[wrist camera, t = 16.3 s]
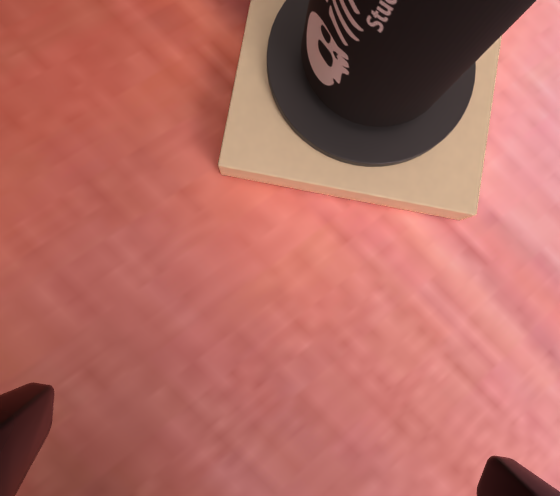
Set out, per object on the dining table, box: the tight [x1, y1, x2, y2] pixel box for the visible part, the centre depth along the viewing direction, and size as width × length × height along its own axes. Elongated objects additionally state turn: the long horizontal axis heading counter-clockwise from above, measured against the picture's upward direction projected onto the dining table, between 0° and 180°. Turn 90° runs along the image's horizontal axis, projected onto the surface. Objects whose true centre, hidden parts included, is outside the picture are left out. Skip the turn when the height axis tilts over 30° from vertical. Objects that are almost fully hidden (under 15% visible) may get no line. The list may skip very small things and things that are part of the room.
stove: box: [218, 0, 502, 220], centre depth 20 cm, size 12×12×3 cm
